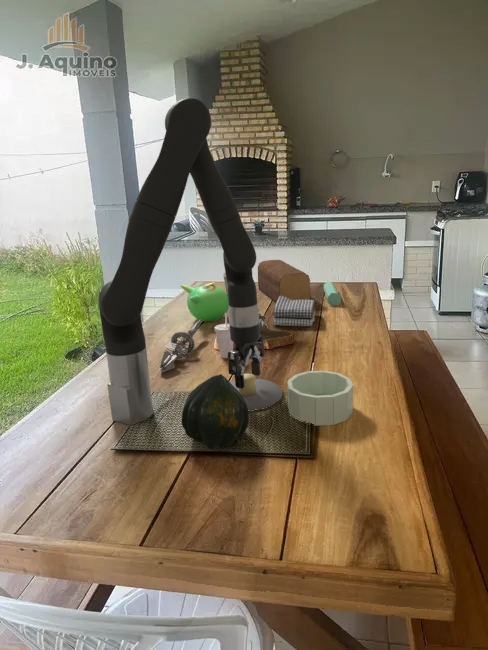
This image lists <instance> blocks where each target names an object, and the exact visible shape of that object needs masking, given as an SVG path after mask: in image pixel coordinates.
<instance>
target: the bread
mask: <svg viewBox="0 0 488 650" xmlns="http://www.w3.org/2000/svg"><path fill="white" fill-rule="evenodd" d="M257 287H258V290H259V291H260V292H261V293H263V294H264V296H266V297H267V296H268V297H267V298H269V299H270V300H271V301H272V300H273V301H272V302H273V303H275V304H276V302H277V300H278V298H279V296H283V297H287V298H288V299H291V300H311V278H310V275H309V274H307V273H305V272H304V271H302V270H300V269H298V268H296V267H294V266H293V265H290V264H289V263H287V262H285V261H283V260H281V259H269V260H262V261H261V262H259V263H258V265H257Z"/></svg>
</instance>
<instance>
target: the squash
mask: <svg viewBox="0 0 488 650" xmlns="http://www.w3.org/2000/svg"><path fill="white" fill-rule="evenodd" d="M181 413H182V414H181V421H180V422H181V426H182V428H183V429H184V431H185V434H186V436H188V437H189V438H190V439H192V440H194V441H195V442H198V443H203V444H204V445H205V447H206V448H207V449H209V450H216V449H218V448H219V447H220V446H222V447H229V446H231V445H232V444H234V443H235V442H236V441H237V439H238V438H240V437H241V436H243V435H244V434H245V432H246V430H248V429H247V428H248V427H249V421H250V417H249V416H250V415H249V412H248V408H247V404H246V402H245V400H244V398H243V396H242V395H241V394H240V392H239V391H238V390H237V389H236V388H235V387H234V386H233V385H232V384H231V383H230V380H229V379H227V378H226V377H225V376H224V375H223V374H222V373H220V374H217V375H216V374H215V375H212V376H211V377H209V378H207V379H206V380H205V381H203V382H201V383H200V384H198V385H197V386H196V387H195V388H194V389H193V390H191V392H190V393H189V394H188V396H187V398H186V400H185V402H184V405H183V407H182V412H181Z"/></svg>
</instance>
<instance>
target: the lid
mask: <svg viewBox="0 0 488 650" xmlns="http://www.w3.org/2000/svg"><path fill="white" fill-rule="evenodd" d="M243 374H244V385H245V387H244V388H243V389H241V388H237V387H236V385H235V379H234V380H229V382H230V383H231V384H232V385H233V386H234V387H235V388H236V389H237V390H238V391H239V392H240V394H241V395H242V396H243V398H244V400H245V402H246V404H247V408H248V410H255V409H261V408H266V407H269V406H271V407H273V406H275V405H276V404H275V403H276V402H278V401H279V400H280V398H281V397H283V390H282V387H280V386H279V385H278V384H277V383H275V382H273V381H270V380H267V379H264V378H256V375H253V374H252V373H243ZM281 399H282V398H281ZM280 401H281V400H280ZM280 401H279V402H280ZM279 402H278V403H279ZM274 404H275V405H274ZM272 405H273V406H272ZM269 408H270V407H269ZM266 409H267V408H266Z"/></svg>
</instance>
